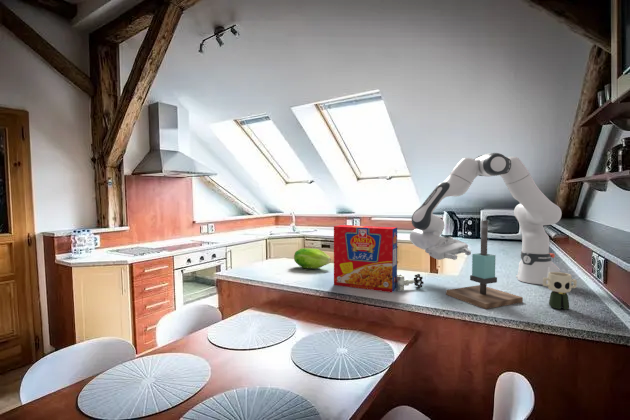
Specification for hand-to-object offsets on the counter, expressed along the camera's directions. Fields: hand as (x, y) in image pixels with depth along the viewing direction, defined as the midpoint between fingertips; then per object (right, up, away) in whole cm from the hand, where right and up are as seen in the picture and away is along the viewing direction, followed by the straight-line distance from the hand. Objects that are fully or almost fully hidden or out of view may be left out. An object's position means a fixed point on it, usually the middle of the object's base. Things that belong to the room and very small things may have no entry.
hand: (463, 255), depth 153 cm
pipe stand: (+3, -16, -12) cm, 20 cm away
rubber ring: (+3, -9, -12) cm, 16 cm away
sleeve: (+3, -7, -12) cm, 15 cm away
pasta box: (-43, -15, +7) cm, 46 cm away
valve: (-24, -16, +2) cm, 29 cm away
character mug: (+25, -17, -24) cm, 39 cm away
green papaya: (-68, -14, +45) cm, 83 cm away
